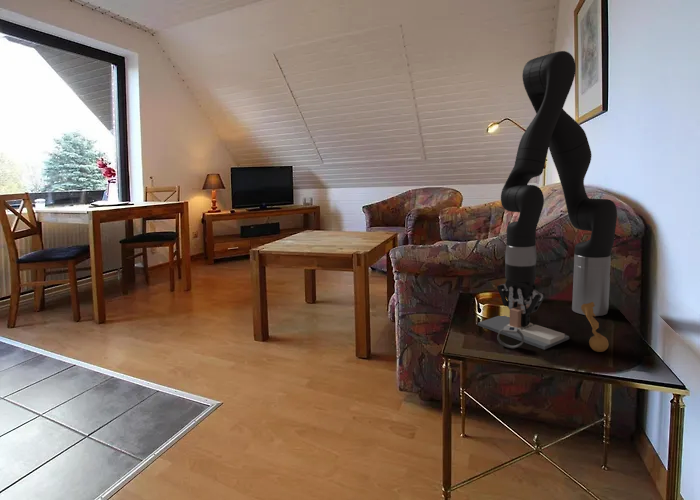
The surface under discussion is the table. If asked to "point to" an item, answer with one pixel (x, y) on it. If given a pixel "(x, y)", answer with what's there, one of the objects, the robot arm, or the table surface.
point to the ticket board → (526, 332)
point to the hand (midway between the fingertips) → (519, 324)
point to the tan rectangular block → (516, 318)
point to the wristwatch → (510, 330)
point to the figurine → (597, 340)
